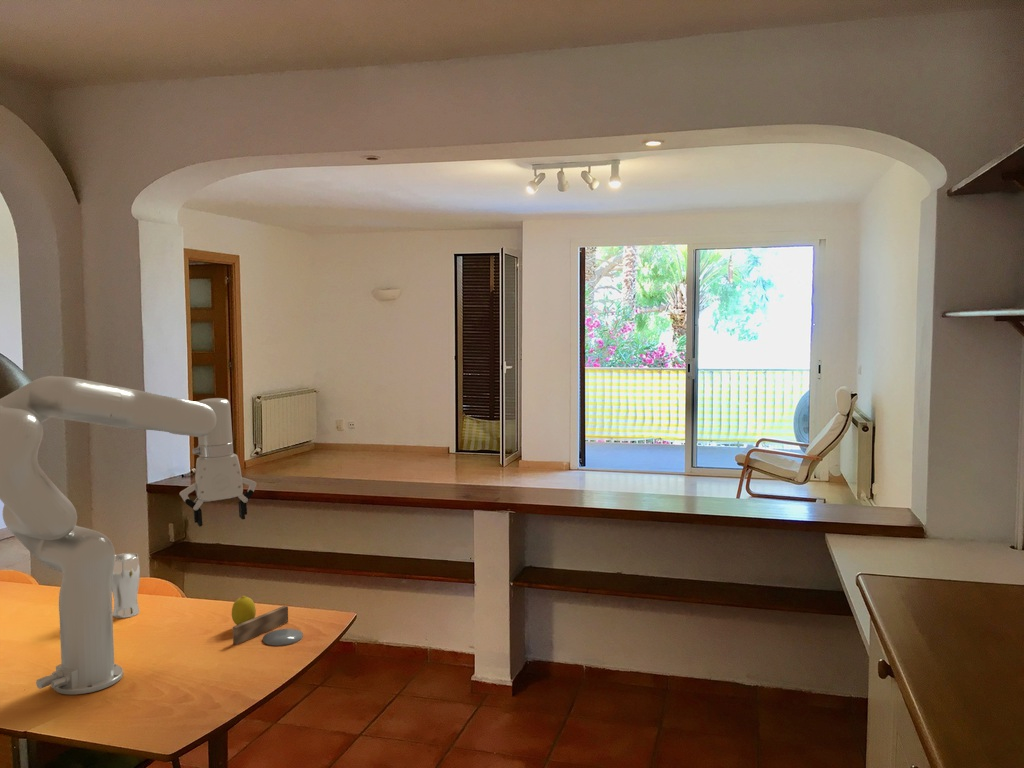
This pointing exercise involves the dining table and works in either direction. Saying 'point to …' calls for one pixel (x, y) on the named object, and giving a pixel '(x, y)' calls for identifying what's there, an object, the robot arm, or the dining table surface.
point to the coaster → (282, 637)
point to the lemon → (243, 610)
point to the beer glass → (125, 585)
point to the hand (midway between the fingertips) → (221, 521)
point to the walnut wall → (260, 625)
